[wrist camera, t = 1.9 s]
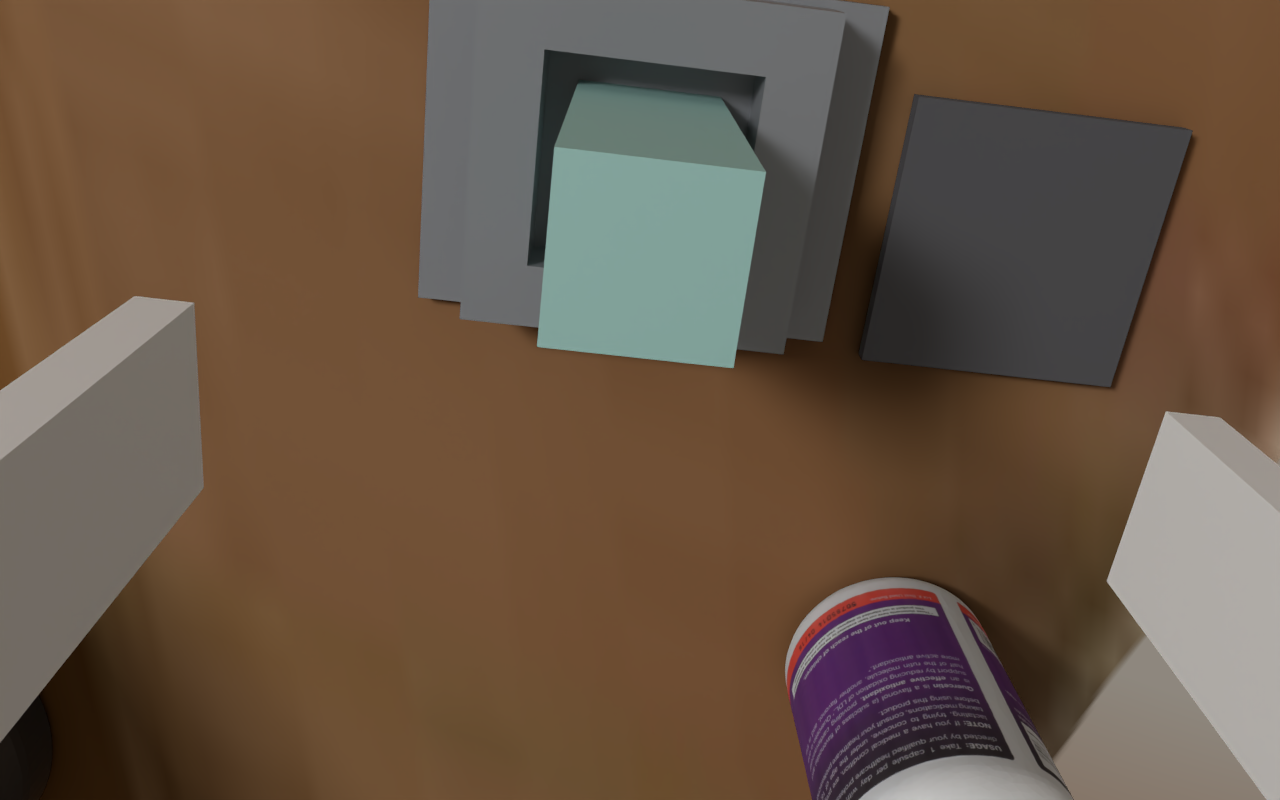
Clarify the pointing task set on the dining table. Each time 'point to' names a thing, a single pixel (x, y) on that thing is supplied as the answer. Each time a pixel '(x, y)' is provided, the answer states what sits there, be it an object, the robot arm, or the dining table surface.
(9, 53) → the dining table surface
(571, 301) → the plug
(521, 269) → the grey socket tray
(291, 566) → the dining table surface
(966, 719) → the pill bottle
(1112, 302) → the mat
